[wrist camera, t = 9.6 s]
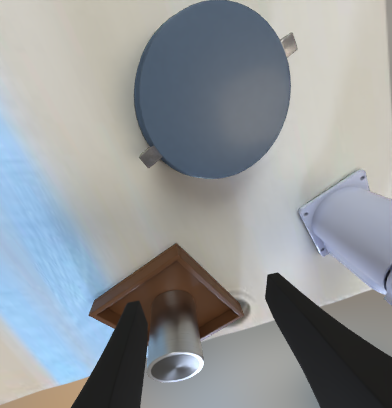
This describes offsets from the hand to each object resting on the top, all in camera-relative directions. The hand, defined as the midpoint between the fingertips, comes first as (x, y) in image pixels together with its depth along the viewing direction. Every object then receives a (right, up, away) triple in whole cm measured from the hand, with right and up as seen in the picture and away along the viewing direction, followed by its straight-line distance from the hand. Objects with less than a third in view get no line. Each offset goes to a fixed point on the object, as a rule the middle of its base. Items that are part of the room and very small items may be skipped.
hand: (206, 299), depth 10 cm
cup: (-4, -8, +15) cm, 17 cm away
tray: (-4, -8, +15) cm, 18 cm away
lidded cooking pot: (0, +13, +5) cm, 14 cm away
